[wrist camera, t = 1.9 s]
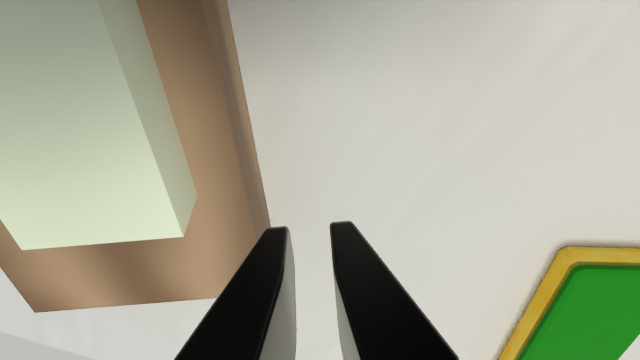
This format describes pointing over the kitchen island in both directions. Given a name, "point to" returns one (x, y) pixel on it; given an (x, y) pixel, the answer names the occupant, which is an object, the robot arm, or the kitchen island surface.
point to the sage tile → (86, 128)
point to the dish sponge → (581, 307)
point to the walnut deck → (207, 174)
